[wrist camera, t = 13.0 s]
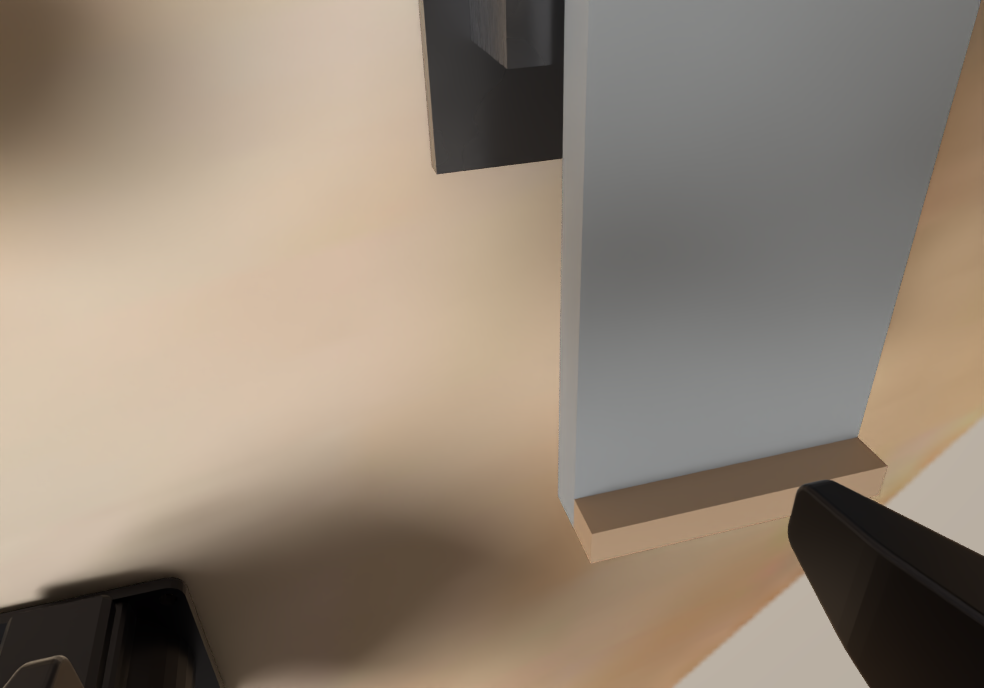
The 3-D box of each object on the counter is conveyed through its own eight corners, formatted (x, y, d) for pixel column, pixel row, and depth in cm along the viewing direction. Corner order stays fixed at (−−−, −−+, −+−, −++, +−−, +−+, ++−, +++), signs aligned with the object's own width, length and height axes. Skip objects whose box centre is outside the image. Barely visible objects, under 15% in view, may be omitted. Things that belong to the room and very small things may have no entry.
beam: (822, 438, 22) (878, 494, 20) (557, 496, 20) (590, 563, 18) (1146, -848, 10) (1360, -1018, 8) (577, -948, 9) (673, -1185, 7)
